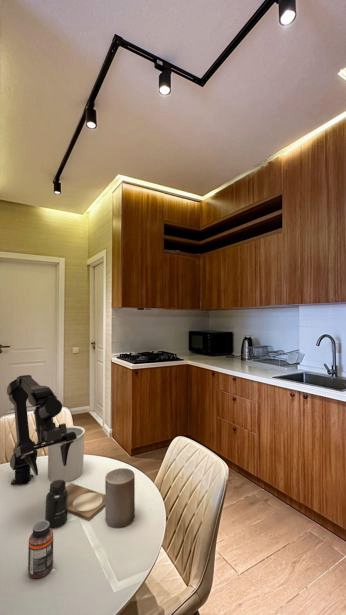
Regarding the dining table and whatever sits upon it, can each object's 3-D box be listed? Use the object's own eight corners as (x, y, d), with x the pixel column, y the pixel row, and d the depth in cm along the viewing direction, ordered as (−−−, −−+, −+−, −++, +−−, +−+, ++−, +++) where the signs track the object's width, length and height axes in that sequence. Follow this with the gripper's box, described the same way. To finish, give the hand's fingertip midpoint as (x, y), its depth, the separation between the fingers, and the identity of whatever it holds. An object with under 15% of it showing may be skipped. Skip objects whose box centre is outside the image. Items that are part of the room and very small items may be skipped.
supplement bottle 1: (33, 560, 78) (34, 517, 79) (55, 559, 79) (56, 516, 79) (23, 580, 72) (24, 533, 73) (48, 579, 73) (49, 532, 73)
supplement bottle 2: (59, 531, 89) (60, 491, 90) (40, 527, 91) (41, 488, 91) (72, 516, 96) (72, 479, 97) (53, 513, 98) (54, 476, 98)
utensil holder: (89, 477, 120) (89, 433, 121) (50, 488, 112) (52, 442, 113) (78, 462, 132) (79, 423, 133) (43, 471, 124) (44, 430, 125)
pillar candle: (139, 511, 99) (139, 466, 100) (127, 531, 89) (127, 481, 90) (113, 506, 101) (113, 462, 102) (99, 525, 92) (99, 476, 93)
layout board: (45, 503, 103) (45, 499, 103) (71, 486, 113) (71, 482, 114) (88, 521, 94) (88, 516, 94) (112, 500, 105) (112, 496, 105)
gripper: (22, 423, 91) (29, 478, 86) (78, 411, 104) (87, 457, 98) (13, 431, 98) (18, 482, 92) (66, 419, 111) (74, 462, 105)
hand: (51, 470), depth 97 cm, fingers open, 9 cm apart
